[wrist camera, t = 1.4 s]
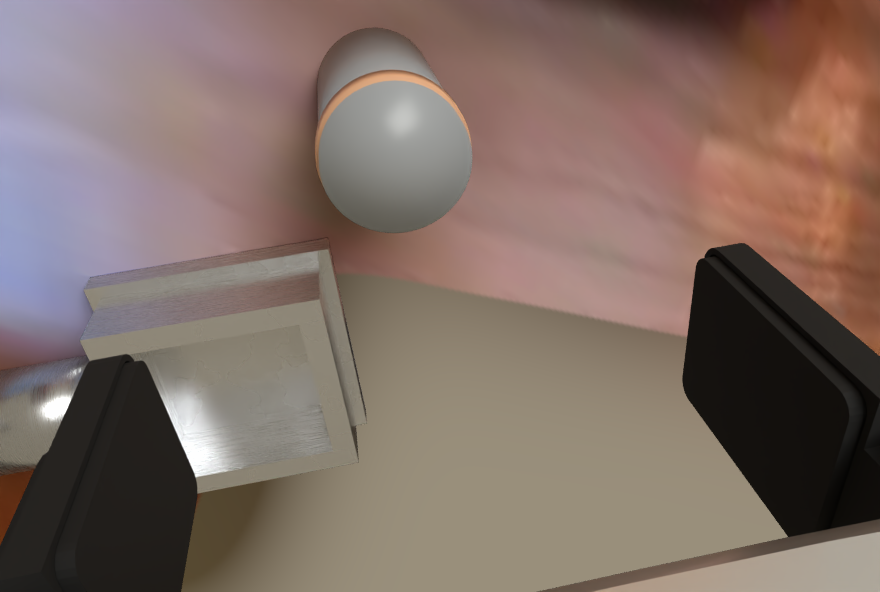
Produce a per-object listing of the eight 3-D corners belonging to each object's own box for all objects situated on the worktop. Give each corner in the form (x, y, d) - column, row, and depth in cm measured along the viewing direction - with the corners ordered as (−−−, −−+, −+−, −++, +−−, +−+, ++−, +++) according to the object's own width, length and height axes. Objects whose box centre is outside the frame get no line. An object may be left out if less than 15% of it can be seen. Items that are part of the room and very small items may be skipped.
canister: (427, 16, 25) (468, 70, 18) (440, 136, 27) (480, 222, 21) (302, 34, 25) (299, 96, 18) (327, 153, 27) (332, 247, 20)
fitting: (327, 238, 29) (330, 291, 25) (365, 410, 34) (372, 474, 31) (-59, 302, 28) (-116, 368, 24) (44, 469, 33) (10, 544, 30)
